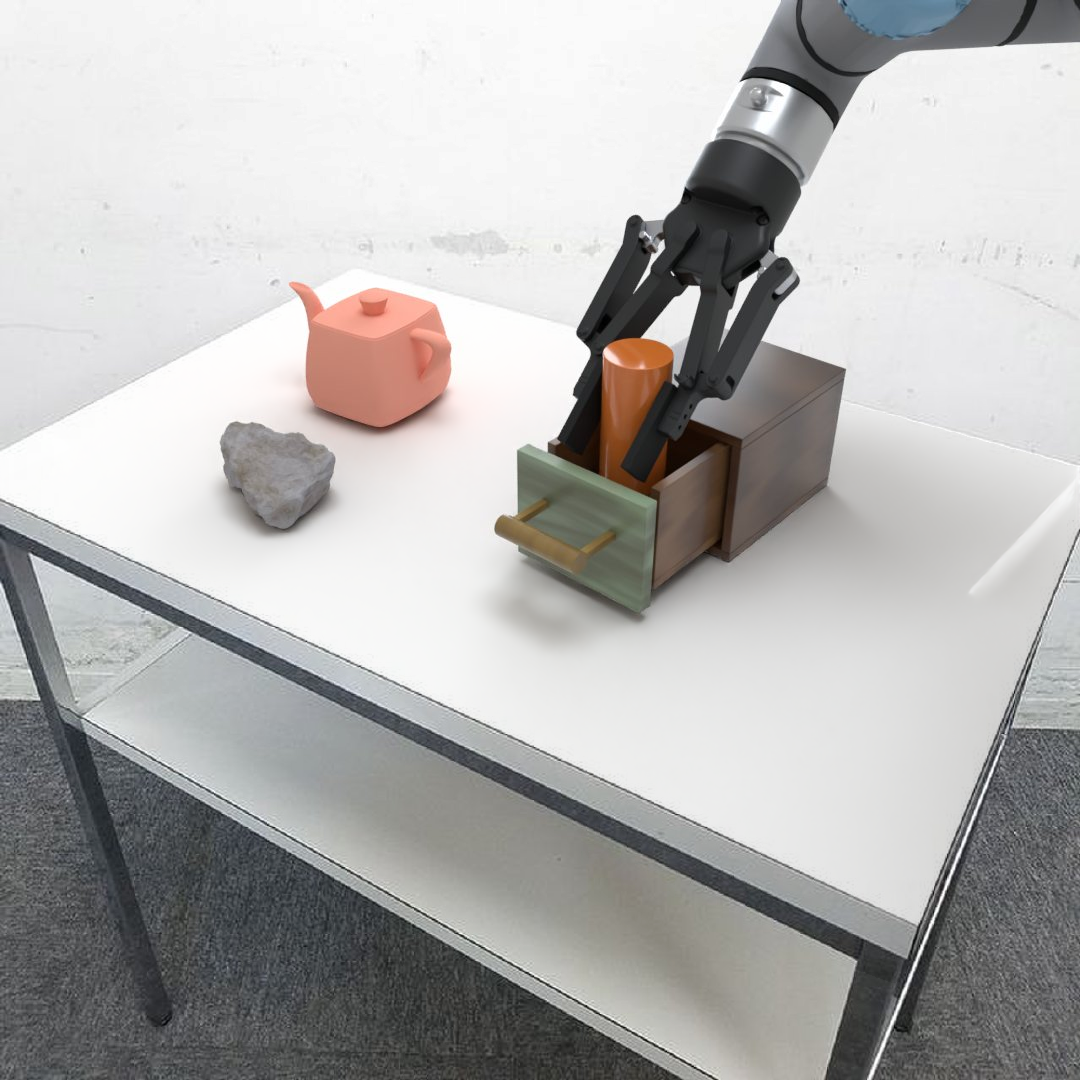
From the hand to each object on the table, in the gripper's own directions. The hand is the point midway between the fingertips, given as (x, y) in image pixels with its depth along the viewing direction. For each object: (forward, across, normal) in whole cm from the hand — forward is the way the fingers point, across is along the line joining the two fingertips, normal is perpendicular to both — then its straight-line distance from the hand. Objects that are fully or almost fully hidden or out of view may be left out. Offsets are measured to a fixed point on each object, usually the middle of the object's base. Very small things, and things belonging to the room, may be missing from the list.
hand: (600, 460), depth 82 cm
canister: (0, 0, +5) cm, 5 cm away
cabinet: (-4, 0, +18) cm, 18 cm away
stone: (+13, -26, +1) cm, 29 cm away
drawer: (+5, 0, +8) cm, 9 cm away
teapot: (+1, -33, +13) cm, 35 cm away
